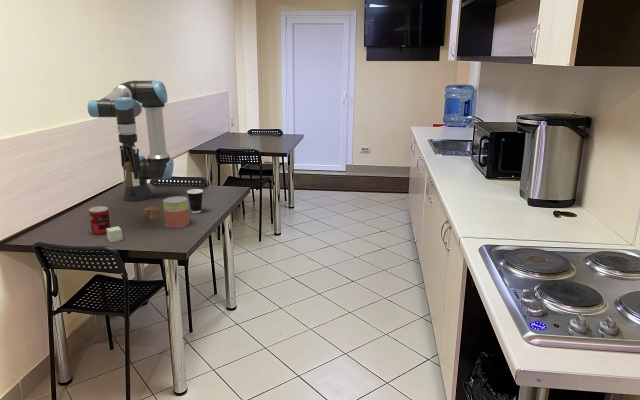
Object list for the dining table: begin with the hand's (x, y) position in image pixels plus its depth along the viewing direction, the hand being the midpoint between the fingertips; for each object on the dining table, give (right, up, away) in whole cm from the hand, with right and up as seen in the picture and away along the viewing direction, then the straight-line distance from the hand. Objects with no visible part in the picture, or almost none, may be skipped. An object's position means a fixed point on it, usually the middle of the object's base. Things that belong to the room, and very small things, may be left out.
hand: (132, 184), depth 216 cm
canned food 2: (+17, -19, +12) cm, 28 cm away
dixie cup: (+21, -13, +30) cm, 39 cm away
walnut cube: (+2, -16, +19) cm, 25 cm away
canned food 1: (-14, -22, 0) cm, 26 cm away
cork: (0, -1, 0) cm, 1 cm away
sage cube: (-4, -24, -9) cm, 26 cm away
